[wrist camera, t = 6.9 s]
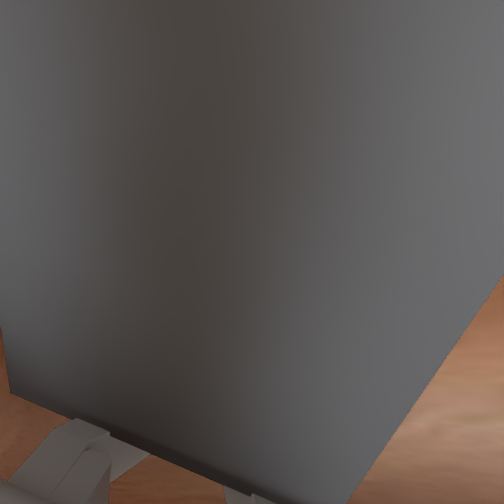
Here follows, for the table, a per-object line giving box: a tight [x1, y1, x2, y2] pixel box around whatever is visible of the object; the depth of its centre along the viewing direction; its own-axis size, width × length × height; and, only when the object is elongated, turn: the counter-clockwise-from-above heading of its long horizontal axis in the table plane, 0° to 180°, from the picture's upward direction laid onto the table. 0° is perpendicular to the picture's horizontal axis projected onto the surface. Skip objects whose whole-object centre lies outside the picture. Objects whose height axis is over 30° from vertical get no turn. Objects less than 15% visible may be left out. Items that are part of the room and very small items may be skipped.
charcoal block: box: [0, 0, 504, 504], centre depth 7 cm, size 7×10×6 cm
